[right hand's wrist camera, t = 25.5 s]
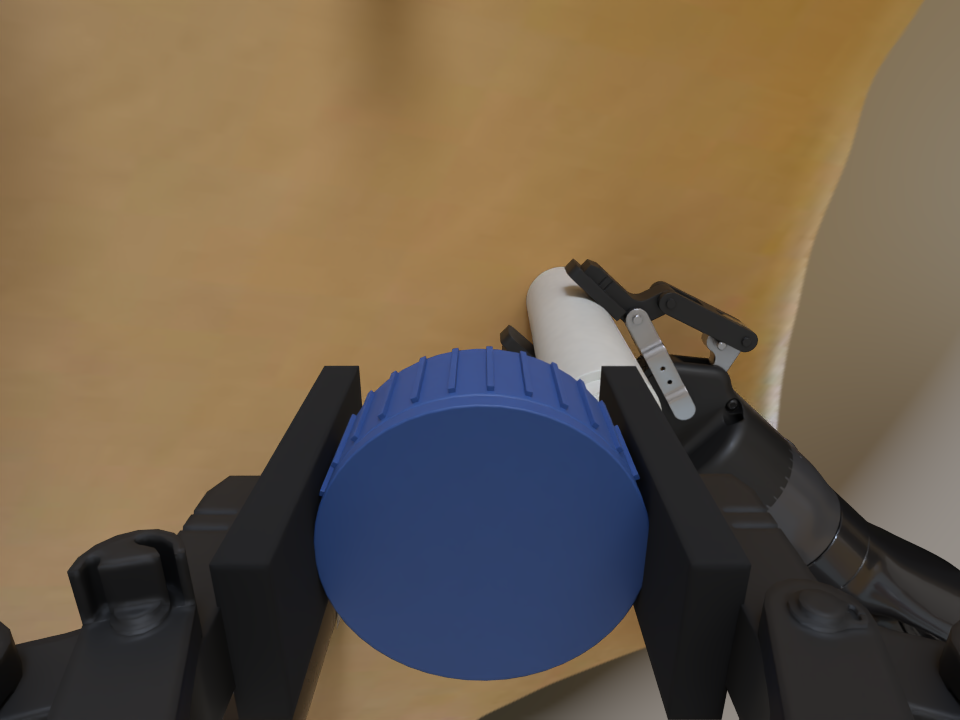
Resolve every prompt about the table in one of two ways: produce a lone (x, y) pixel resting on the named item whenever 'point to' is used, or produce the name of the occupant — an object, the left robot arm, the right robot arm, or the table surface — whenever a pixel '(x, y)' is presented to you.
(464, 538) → the lid
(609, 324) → the jar
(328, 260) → the table surface
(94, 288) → the table surface
